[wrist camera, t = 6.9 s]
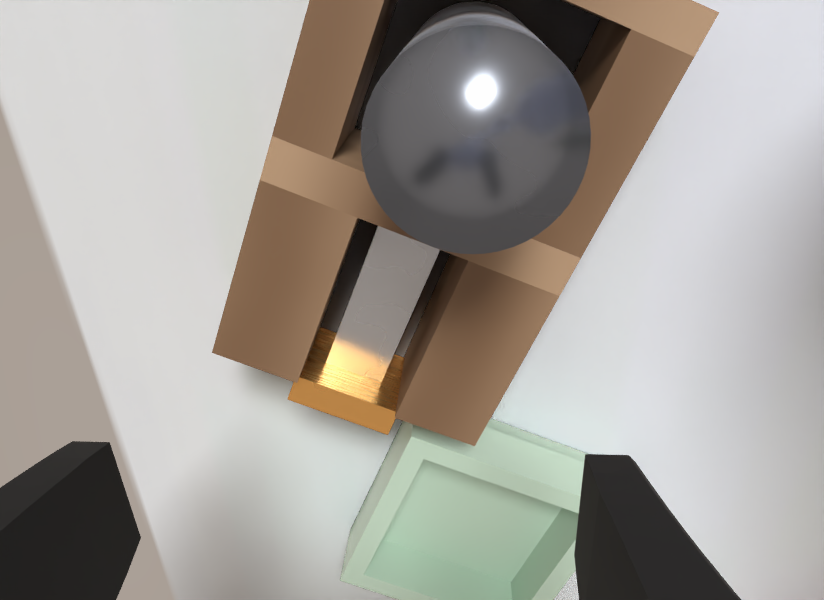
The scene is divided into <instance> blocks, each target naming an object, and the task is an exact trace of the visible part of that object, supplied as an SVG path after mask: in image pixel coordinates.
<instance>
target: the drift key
mask: <svg viewBox="0 0 824 600" xmlns="http://www.w3.org/2000/svg"><path fill="white" fill-rule="evenodd" d="M439 251H440V250H439V249H437V248H434V247H431V246H429V245H426V244H424V243H421V242H419V241H416V240H414V239H411V238H408V237H406V236H403V235H401V234H398V233H395V232H393V231H390V230H388V229H385V228H383V227H380V226H377V229H376V231H375V234H374V236H373V239H372V242H371V244H370V247H369V250H368V252H367V255H366V257H365V260H364V263H363V265H362V268H361V270H360V273H359V276H358V278H357V281H356V283H355V286H354V289H353V291H352V294H351V297H350V299H349V302H348V304H347V307H346V310H345V312H344V315H343V317H342V320H341V323H340V325H339V328H338V330H337V333H336V332H333V331H330V330H327V329H325V328H322V327H320V329H319V331H318V334H317V336H316V338H315V341H314V343H313V346H312V348H311V351H310V353H309V355H308V358H307V360H306V363H305V365H304V368H303V370H302V372H301V375H300V377H299V380H298V382H297V383H296V382H294V383H293V385H292V388H291V391H290V394H289V397H288V400H291V401H293V402H296V403H299V404H302V405H305V406H308V407H310V408H313V409H316V410H319V411H322V412H325V413H327V414H330V415H333V416H336V417H339V418H342V419H344V420H347V421H350V422H353V423H356V424H359V425H361V426H364V427H367V428H370V429H373V430H375V431H378V432H381V433H384V434H387V435H388V433H389V431H390V429H391V427H392V425H393V423H394V421H395V419H396V418H395V413H396V406H397V400H398V394H399V388H400V382H401V376H402V369H403V363H404V357H401V356H398V355H395V354H394V353H395V351H396V348H397V346H398V344H399V342H400V339H401V337H402V335H403V333H404V330H405V328H406V326H407V324H408V321H409V319H410V317H411V315H412V312H413V310H414V308H415V306H416V303H417V301H418V299H419V296H420V294H421V292H422V290H423V287H424V285H425V283H426V281H427V278H428V276H429V274H430V272H431V269H432V267H433V265H434V263H435V260H436V258H437V256H438V254H439Z"/></svg>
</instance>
